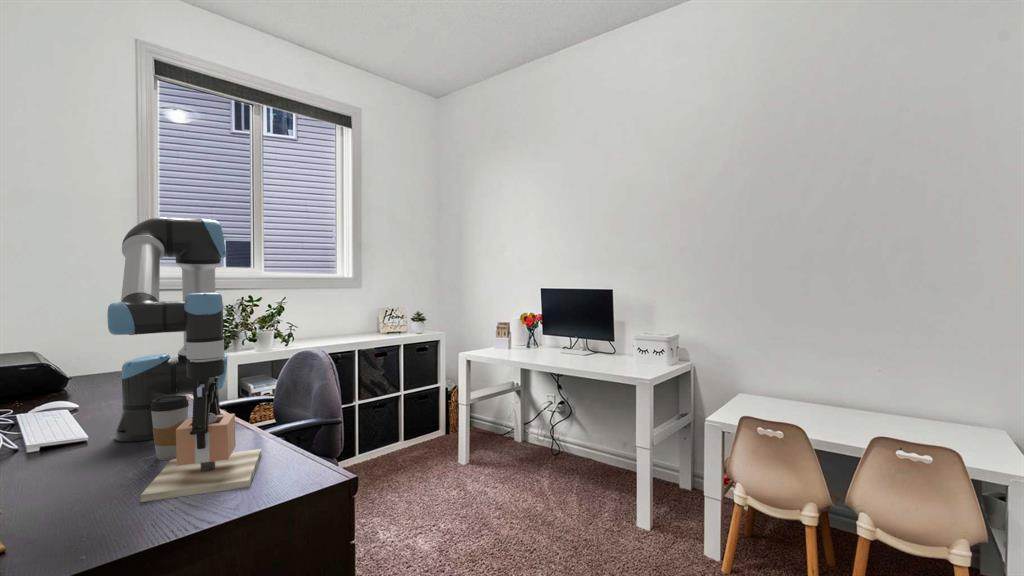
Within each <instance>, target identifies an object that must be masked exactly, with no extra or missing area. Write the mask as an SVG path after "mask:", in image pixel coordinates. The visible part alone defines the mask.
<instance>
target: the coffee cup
mask: <svg viewBox="0 0 1024 576" xmlns="http://www.w3.org/2000/svg"><path fill="white" fill-rule="evenodd" d="M189 405H190V404H189V399H188V397H187V396H186V395H178V396H167V397H161V398H157V399H154V400H153V402H152V404H151V409H150V410H151V413H152V422H153V435H154V439H153V441H154V442H153V443H154V445H153V446H154V447H155V448H154V450H155V457H156V458H157V460H160V461H170V460H171V459H177V454H176V429H177V428H178V427H179V426H180V425H181V424H182V423H183V422H184V421H185V420H186V419H187V418H189V416H188V414H189Z"/></svg>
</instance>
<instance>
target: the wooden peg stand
mask: <svg viewBox="0 0 1024 576" xmlns="http://www.w3.org/2000/svg"><path fill="white" fill-rule="evenodd" d="M215 423H218V418H217V416H216V415H215V414H213V413H209V422H208V424H215ZM261 454H262V448H257V449H249V450H241V451H240V450H239V451H233V452H232V454H231V455H230V457H229V459H228V460H220V461H212V462H203V463H195V464H187V465H179V466H177V458H175V459H170V460H169V462H168V463H167V464H166V465H165V466H164V467H163V469H161V471H160V472H159V473H158V474H157V475H156V477H155V478H154V479H153V480H152V481H151V482H150V483H149V485H148V486H147V487H146V488H145V490H144V491H143V492H142V493H141V494H140V503H145V502H151V501H159V500H165V499H171V498H173V499H174V498H178V497H179V498H180V497H186V496H194V495H200V494H201V495H202V494H208V493H216V492H222V491H230V490H237V489H243V488H250V487H251V486H252V485H251V484H252V482H253V479H254V476H255V473H256V471H257V468H258V465H259V462H260V460H261V458H262V455H261Z"/></svg>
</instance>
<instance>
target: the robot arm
mask: <svg viewBox="0 0 1024 576" xmlns="http://www.w3.org/2000/svg"><path fill="white" fill-rule="evenodd" d="M225 243H226V242H225V238H224V232H223V227H222V225H221V223H220V222H219V221H217V220H215V219H208V218H193V217H192V218H185V217H167V216H158V217H152V218H149V219H146V220H143V221H142V222H139V223H138V224H136V225H134V226H133V227H132V228H131V229H130V230H129V231H128V232H127V233H126V235H125V236H124V238H123V239H122V243H121V252H122V253H121V254H122V255H123V256H124V258H125V259H124V268H123V280H122V285H121V286H122V289H121V299H120V301H119V302H112V303H110V304H109V305H108V307H107V316H106V317H107V327H108V332H109V334H111V335H114V336H117V335H118V336H122V335H124V336H127V335H129V336H135V335H146V334H162V333H180V332H181V333H183V346H182V347H181V348H180V349H179V350H178V352H177V357H171V354H169V353H156V354H151V355H145V356H140V357H136V358H133V359H129V360H127V361H126V362H124V363H123V364H122V367H121V377H120V380H121V385H122V386H121V387H122V388H121V389H122V390H121V391H122V392H121V393H122V394H121V396H122V401H121V402H122V413H121V416H120V418H119V421H118V424H117V426H116V429H115V440H116V441H117V442H122V443H123V442H125V443H129V442H130V443H133V442H143V441H150V440H154V435H153V422H152V413H151V410H150V409H151V404H152V402H153V400H154V399H157V398H161V397H167V396H178V395H181V396H186V395H187V396H188V395H192V397H193V400H192V401H193V402H192V417H191V418H192V431H191V432H190V435H195V463H203V462H209V461H210V444H209V432H208V422H209V413H213V414H215V415H223V414H221V406H220V396H219V394H220V393H219V391H220V390H222V388H224V386H225V383H226V377H227V370H228V355H227V354H226V353H225V338H224V303H223V295H222V294H221V293H219V292H216V269H217V267H219V266H220V265H221V260H222V259H225V258H226V257H227V254H226V253H227V252H226V244H225ZM167 257H168V258H175V264H176V265H177V266H178V267H179V268H180V269H181V274H182V275H181V277H182V278H181V281H182V283H181V284H182V285H181V286H182V288H181V289H182V300H171V301H170V300H168V301H165V300H163V301H160V282H161V281H160V280H161V279H160V277H161V276H160V275H161V260H162V259H163V258H167ZM198 427H201V428H198Z"/></svg>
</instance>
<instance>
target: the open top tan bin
mask: <svg viewBox="0 0 1024 576" xmlns="http://www.w3.org/2000/svg"><path fill="white" fill-rule="evenodd" d="M216 416H217V418H218V423H215V424H208V432H209V444H210V461H209V462H212V461H220V460H228V459H229V457H230V455H231V454H232V452H234V450H235V448H236V446H237V445H236V440H237V439H236V414H235V413H228V414H227V413H226V414H222V415H221V414H220V415H216ZM192 418H193V417H188V418H187V419H186V420H185V421H184V422H183V423H182V424H181V425H180V426H179V427H178V428H177V429H176V454H177V458H176V459H177V466H179V465H187V464H195V435H190V432H191V431H192ZM198 428H201V427H198Z"/></svg>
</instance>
